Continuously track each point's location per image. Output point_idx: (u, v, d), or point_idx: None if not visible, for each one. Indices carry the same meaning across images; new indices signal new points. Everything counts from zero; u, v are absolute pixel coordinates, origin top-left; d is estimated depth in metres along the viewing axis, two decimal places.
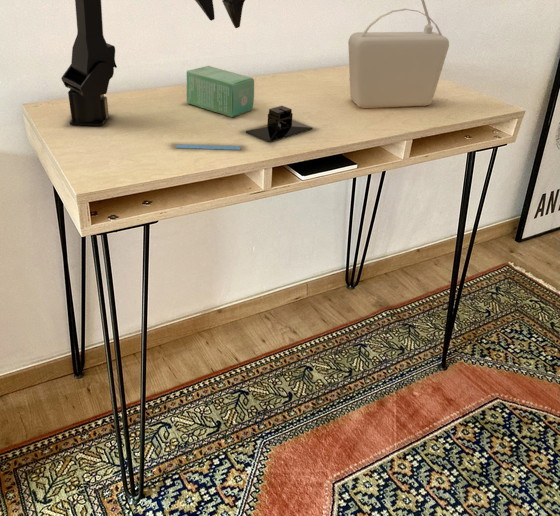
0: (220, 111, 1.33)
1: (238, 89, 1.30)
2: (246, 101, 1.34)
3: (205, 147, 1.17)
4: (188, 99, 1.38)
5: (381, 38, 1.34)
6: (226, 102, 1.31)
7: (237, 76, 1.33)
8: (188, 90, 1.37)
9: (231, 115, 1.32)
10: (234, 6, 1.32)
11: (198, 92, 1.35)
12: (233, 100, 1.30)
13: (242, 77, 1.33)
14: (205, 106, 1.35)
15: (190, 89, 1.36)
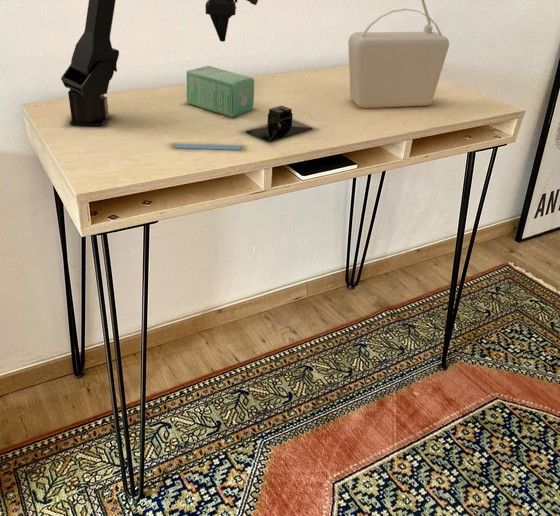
0: (220, 111, 1.33)
1: (238, 89, 1.30)
2: (246, 101, 1.34)
3: (205, 147, 1.17)
4: (188, 99, 1.38)
5: (381, 38, 1.34)
6: (226, 102, 1.31)
7: (237, 76, 1.33)
8: (188, 90, 1.37)
9: (231, 115, 1.32)
10: (219, 19, 1.38)
11: (198, 92, 1.35)
12: (233, 100, 1.30)
13: (242, 77, 1.33)
14: (205, 106, 1.35)
15: (190, 89, 1.36)
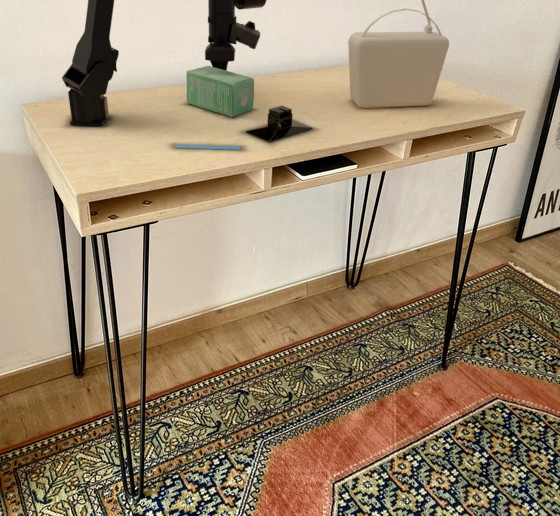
0: (220, 111, 1.33)
1: (238, 89, 1.30)
2: (246, 101, 1.34)
3: (205, 147, 1.17)
4: (188, 99, 1.38)
5: (381, 38, 1.34)
6: (226, 102, 1.31)
7: (237, 76, 1.33)
8: (188, 90, 1.37)
9: (231, 115, 1.32)
10: (218, 62, 1.40)
11: (198, 92, 1.35)
12: (233, 100, 1.30)
13: (242, 77, 1.33)
14: (206, 106, 1.35)
15: (190, 89, 1.36)
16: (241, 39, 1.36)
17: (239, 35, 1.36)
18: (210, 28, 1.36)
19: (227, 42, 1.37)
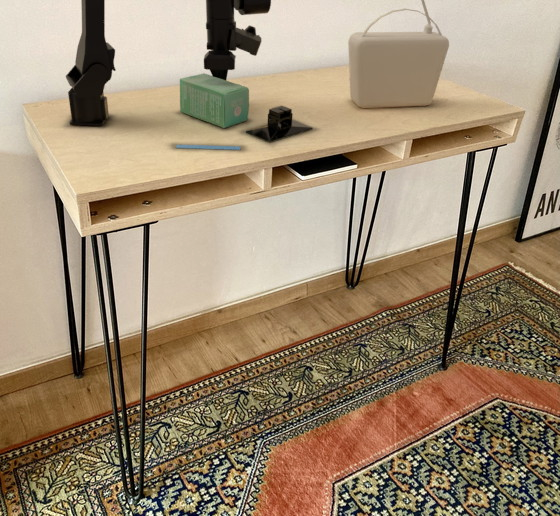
0: (212, 121, 1.28)
1: (230, 99, 1.24)
2: (240, 111, 1.28)
3: (205, 147, 1.17)
4: (181, 108, 1.32)
5: (381, 38, 1.34)
6: (218, 112, 1.26)
7: (231, 85, 1.27)
8: (181, 99, 1.31)
9: (223, 126, 1.26)
10: (218, 70, 1.33)
11: (191, 101, 1.29)
12: (225, 110, 1.24)
13: (236, 86, 1.27)
14: (198, 115, 1.30)
15: (183, 98, 1.31)
16: (241, 45, 1.30)
17: (239, 41, 1.29)
18: (208, 35, 1.29)
19: (227, 49, 1.30)
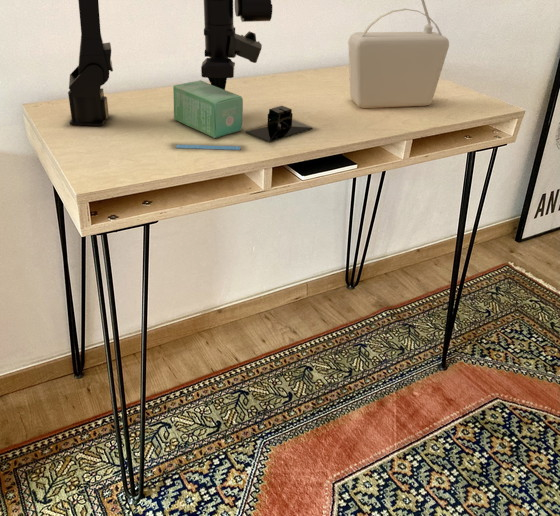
0: (203, 131, 1.23)
1: (221, 108, 1.19)
2: (232, 121, 1.23)
3: (205, 147, 1.17)
4: (175, 115, 1.28)
5: (381, 38, 1.34)
6: (208, 121, 1.21)
7: (224, 94, 1.22)
8: (175, 106, 1.27)
9: (214, 136, 1.21)
10: (216, 77, 1.28)
11: (184, 109, 1.25)
12: (216, 120, 1.19)
13: (229, 95, 1.22)
14: (190, 124, 1.25)
15: (176, 105, 1.27)
16: (241, 52, 1.25)
17: (238, 48, 1.24)
18: (207, 41, 1.24)
19: (225, 56, 1.25)
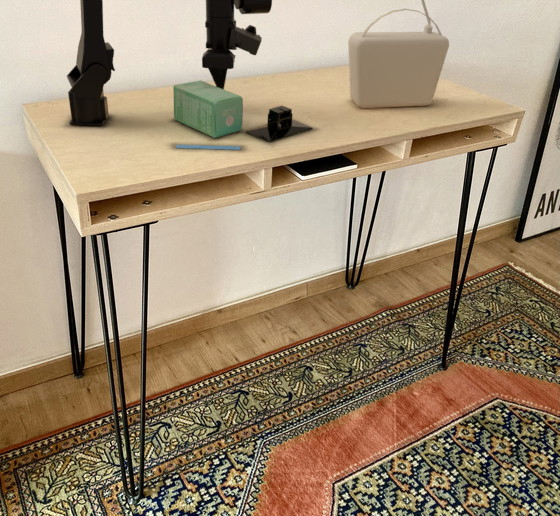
0: (203, 130, 1.23)
1: (221, 108, 1.19)
2: (232, 121, 1.23)
3: (205, 147, 1.17)
4: (175, 115, 1.28)
5: (381, 38, 1.34)
6: (208, 121, 1.21)
7: (224, 94, 1.22)
8: (175, 106, 1.27)
9: (214, 136, 1.21)
10: (217, 69, 1.31)
11: (184, 109, 1.25)
12: (216, 119, 1.19)
13: (229, 95, 1.22)
14: (190, 124, 1.25)
15: (176, 105, 1.27)
16: (241, 45, 1.28)
17: (239, 40, 1.27)
18: (208, 33, 1.27)
19: (226, 48, 1.28)
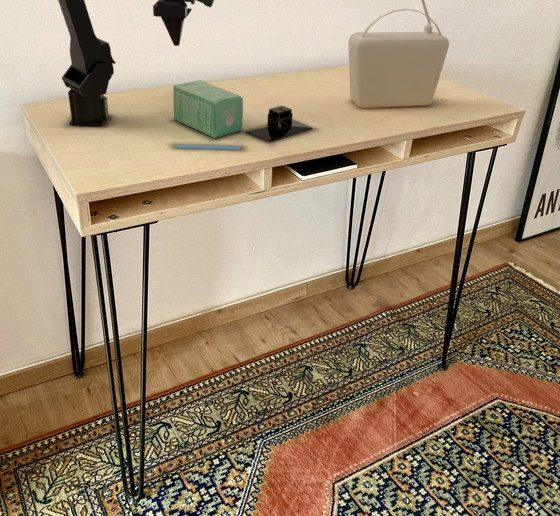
0: (203, 130, 1.23)
1: (221, 108, 1.19)
2: (232, 121, 1.23)
3: (205, 147, 1.17)
4: (175, 115, 1.28)
5: (381, 38, 1.34)
6: (208, 121, 1.21)
7: (224, 94, 1.22)
8: (175, 106, 1.27)
9: (214, 136, 1.21)
10: (172, 21, 1.29)
11: (184, 109, 1.25)
12: (216, 119, 1.19)
13: (229, 95, 1.22)
14: (190, 124, 1.25)
15: (176, 105, 1.27)
16: None
17: None
18: None
19: None
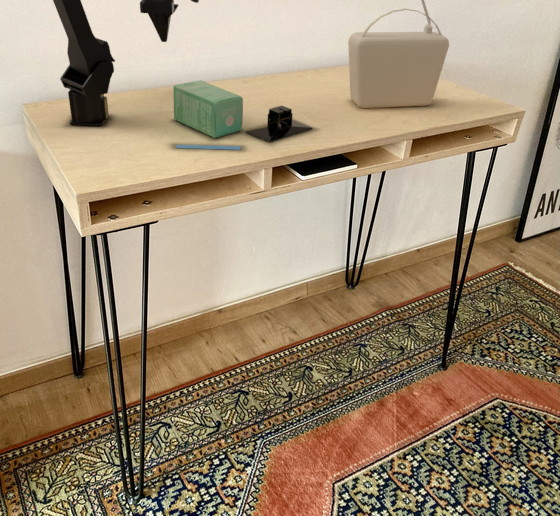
0: (203, 130, 1.23)
1: (221, 108, 1.19)
2: (232, 121, 1.23)
3: (205, 147, 1.17)
4: (175, 115, 1.28)
5: (381, 38, 1.34)
6: (208, 121, 1.21)
7: (224, 94, 1.22)
8: (175, 106, 1.27)
9: (214, 136, 1.21)
10: (159, 18, 1.29)
11: (184, 109, 1.25)
12: (216, 119, 1.19)
13: (229, 95, 1.22)
14: (190, 124, 1.25)
15: (176, 105, 1.27)
16: None
17: None
18: None
19: None
